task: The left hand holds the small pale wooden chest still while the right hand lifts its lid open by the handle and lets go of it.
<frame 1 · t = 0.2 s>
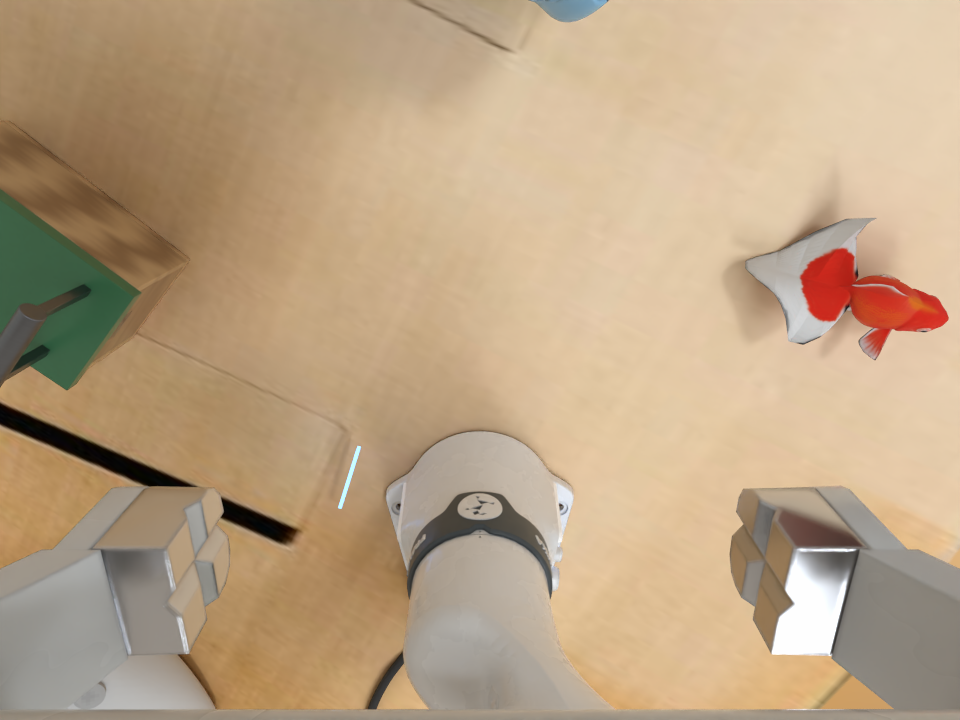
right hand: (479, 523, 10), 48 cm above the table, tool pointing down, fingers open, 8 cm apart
fish: (817, 281, 58), on the table
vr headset: (134, 663, 74), on the table
chest: (74, 236, 57), on the table
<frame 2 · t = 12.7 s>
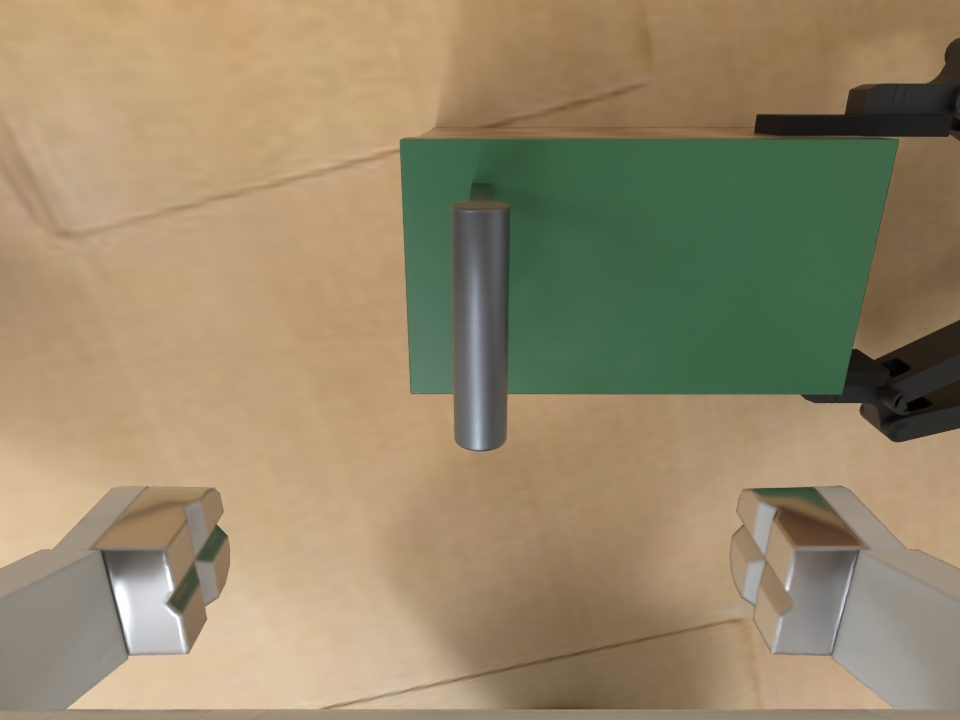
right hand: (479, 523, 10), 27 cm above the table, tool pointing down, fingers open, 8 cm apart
lid: (656, 297, 22), point 14 cm above the table, hinge at 0.0°
chest: (596, 225, 35), on the table, touching left hand
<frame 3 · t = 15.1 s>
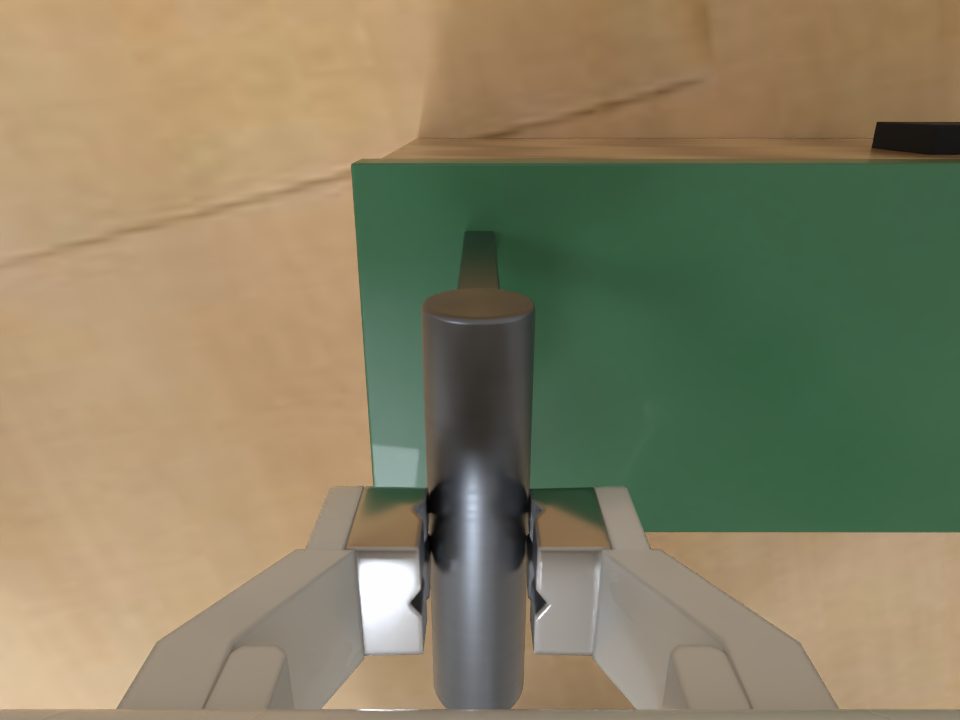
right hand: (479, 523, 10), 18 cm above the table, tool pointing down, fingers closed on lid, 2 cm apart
lid: (762, 421, 14), point 14 cm above the table, hinge at 0.0°, touching right hand
chest: (631, 266, 27), on the table, touching left hand
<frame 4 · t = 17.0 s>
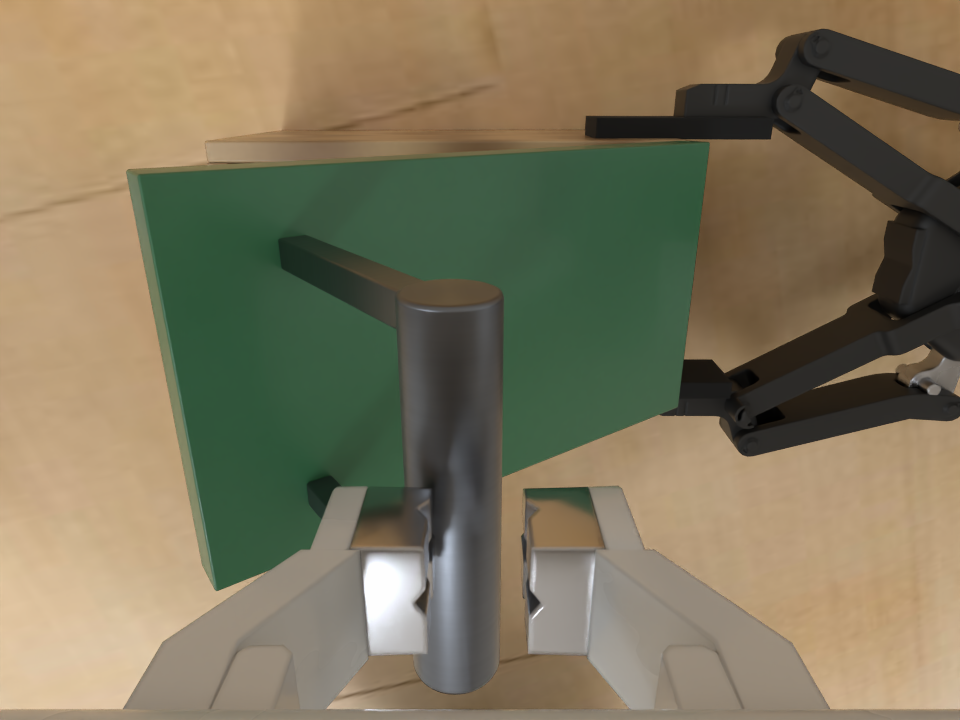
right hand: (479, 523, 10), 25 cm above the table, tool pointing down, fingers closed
left hand: (582, 261, 27), fingers closed on chest, 10 cm apart
lid: (572, 361, 17), point 18 cm above the table, hinge at 36.2°, touching right hand
chest: (457, 230, 34), on the table, touching left hand
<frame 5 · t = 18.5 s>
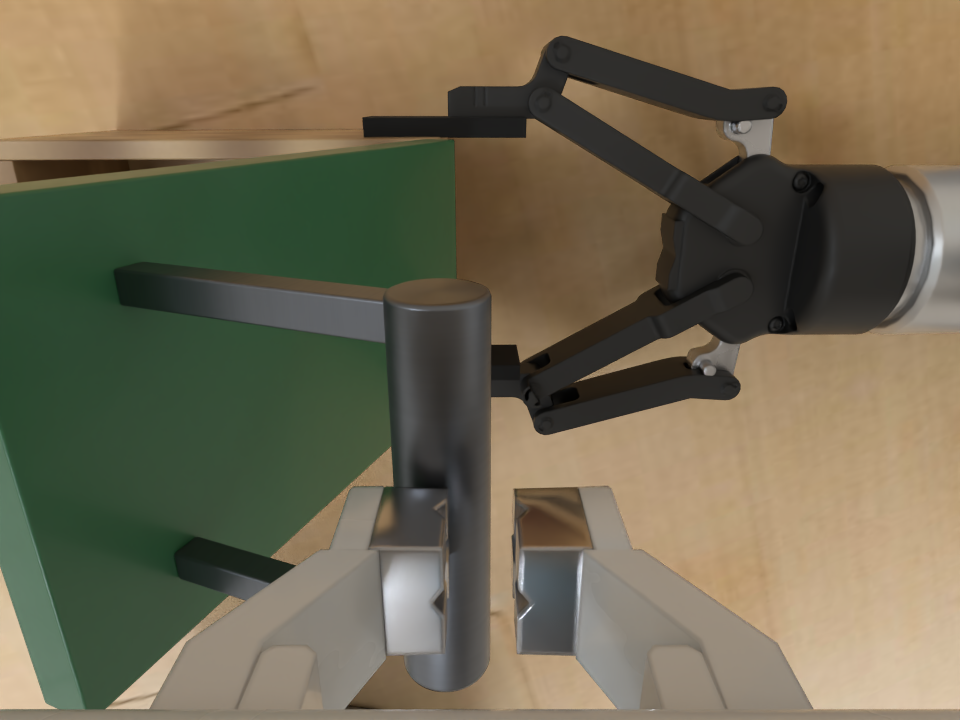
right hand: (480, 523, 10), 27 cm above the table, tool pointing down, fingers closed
left hand: (375, 252, 29), fingers closed on chest, 10 cm apart
lid: (422, 353, 17), point 20 cm above the table, hinge at 67.0°, touching right hand
chest: (292, 225, 36), on the table, touching left hand
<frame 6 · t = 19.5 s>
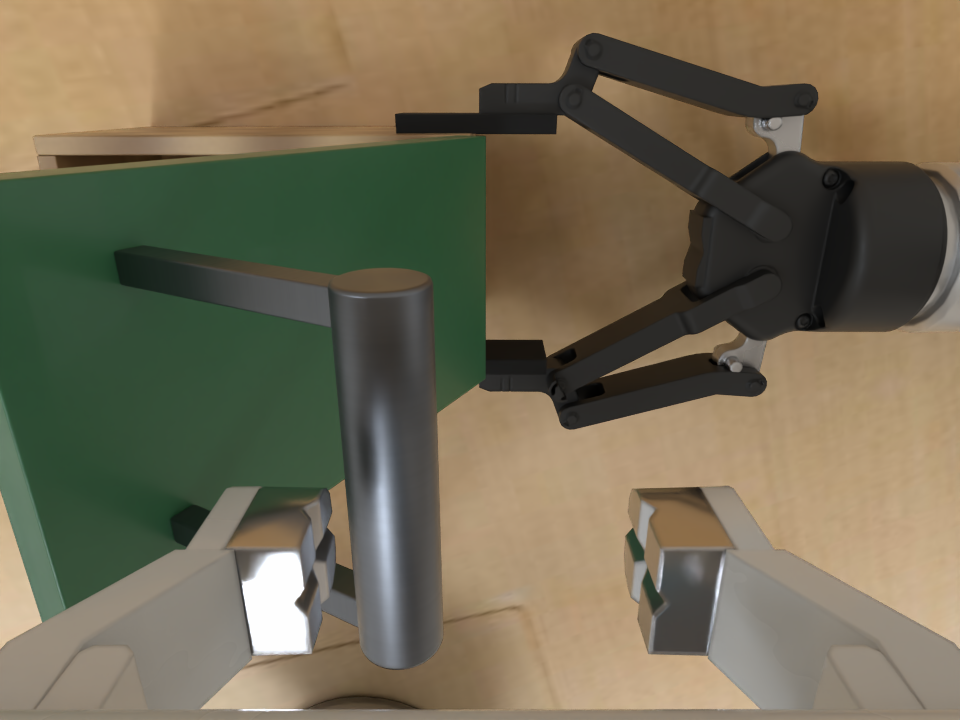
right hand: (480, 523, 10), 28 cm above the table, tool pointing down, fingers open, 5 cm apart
left hand: (404, 247, 30), fingers closed on chest, 10 cm apart
lid: (423, 344, 18), point 20 cm above the table, hinge at 60.9°
chest: (320, 221, 36), on the table, touching left hand
when the left hand's fingers open (7 cm above the table, at t = 22.6 s): chest stays where it is, on the table.
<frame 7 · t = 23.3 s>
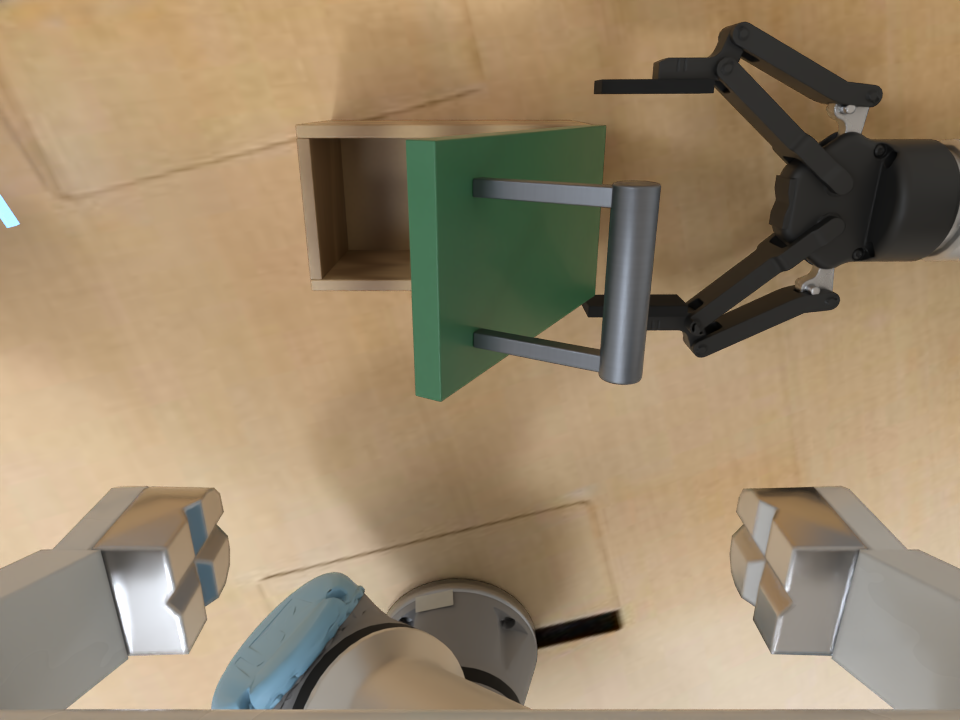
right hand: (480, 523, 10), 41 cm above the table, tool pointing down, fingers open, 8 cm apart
left hand: (590, 203, 41), fingers open, 13 cm apart
lid: (595, 246, 30), point 20 cm above the table, hinge at 60.6°
chest: (452, 191, 48), on the table
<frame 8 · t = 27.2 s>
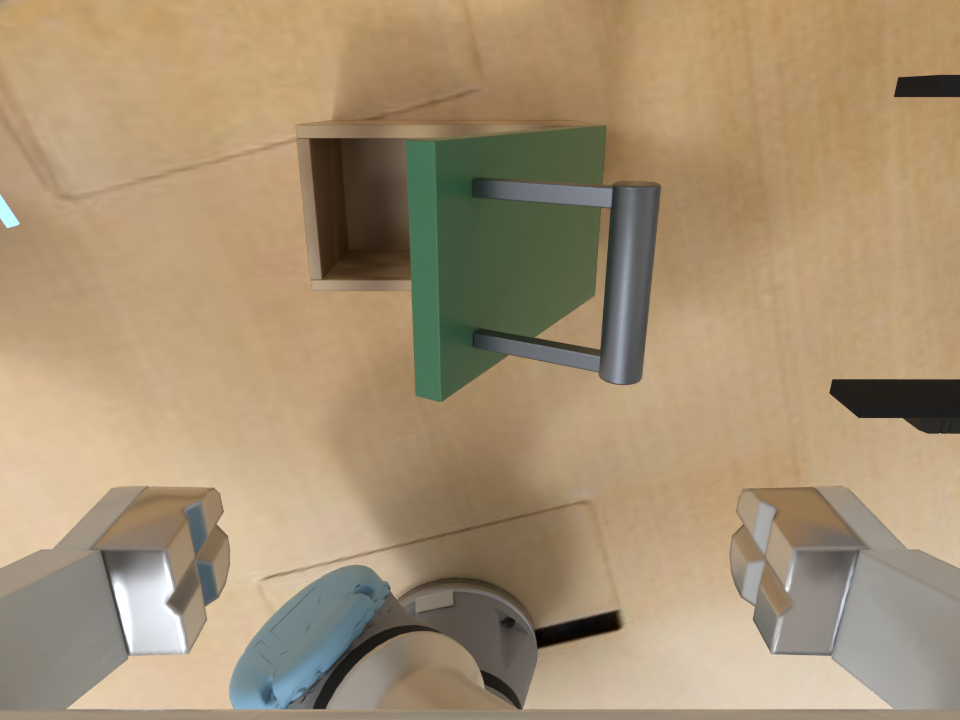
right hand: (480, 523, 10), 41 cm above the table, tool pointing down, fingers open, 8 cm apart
lid: (596, 246, 30), point 20 cm above the table, hinge at 60.6°
chest: (452, 191, 48), on the table
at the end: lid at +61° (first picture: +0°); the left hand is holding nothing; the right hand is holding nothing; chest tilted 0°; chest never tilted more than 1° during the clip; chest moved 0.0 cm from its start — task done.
